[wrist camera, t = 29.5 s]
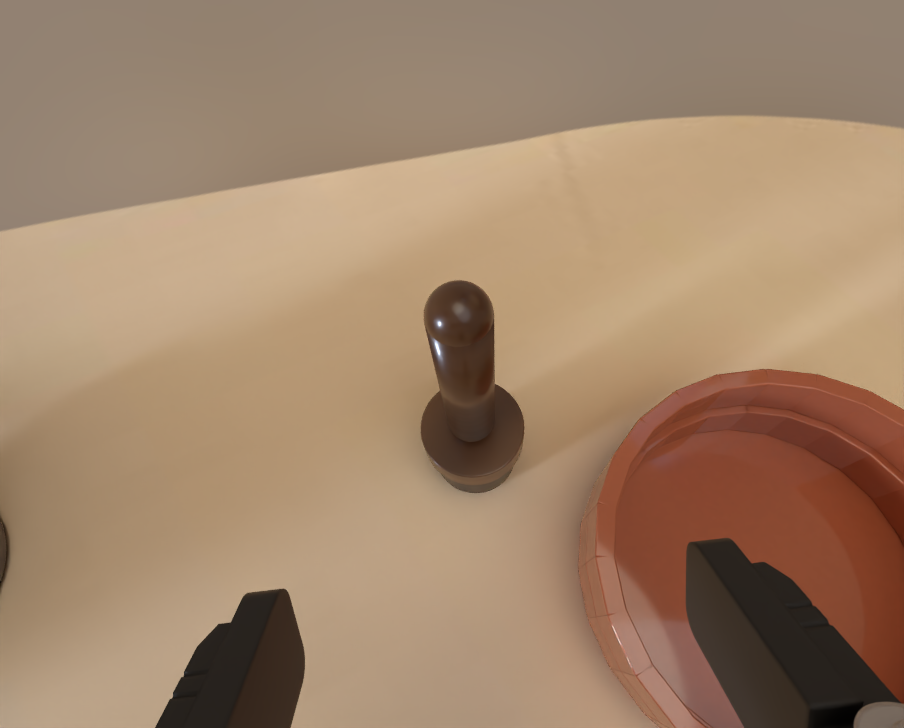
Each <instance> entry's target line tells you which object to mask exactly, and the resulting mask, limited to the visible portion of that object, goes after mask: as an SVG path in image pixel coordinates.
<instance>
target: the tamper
mask: <svg viewBox="0 0 904 728" xmlns="http://www.w3.org/2000/svg"><path fill="white" fill-rule="evenodd" d="M424 324H425V328H426V332H427V336H428V341H429V345H430V349H431V353H432V358H433V362H434V366H435V370H436V375H437V379H438V383H439V387H440V391H439V392H438V393H437V394H436V395H435V396H434V397H433V398H432V399H431V400H430V402H429V403H428V405H427V407H426V409H425V411H424V413H423V417H422V421H421V437H422V441H423V445H424V447H425V450H426V452H427V455H428V457H429V459H430V461H431V463H432V464H433V466H434V467H435V468H436V469H437V470H438V471H439V472H440V473H441V474H442V476H443V477H444V478H445V479H446V481H447V482H449V483H450V484H451V485H452V486H454V487H455V488H457V489H459V490H462V491H465V492H469V493H481V492H486V491H489V490H492V489H494V488H496V487H497V486H499V485H500V484H501V483H503V482H504V481H505V480H506V478H507V477H508V476H509V474H510V473H511V471H512V468H513V466H514V464H515V463H516V461H517V459H518V457H519V455H520V452H521V449H522V444H523V437H524V420H523V415H522V412H521V410H520V408H519V406H518V404H517V402H516V401H515V400H514V398H513V397H512V396H511V395H510V394H509V393H508V392H507V391H506V390H504V389H503V388H501V387H500V386H498V385H496V384H495V370H494V311H493V306H492V303H491V301H490V299H489V297H488V295H487V294H486V293H485V292H484V291H483V290H482V289H481V288H480V287H479V286H477V285H475V284H473V283H471V282H467V281H462V280H456V281H450V282H447V283H444V284H442V285H441V286H439V287H438V288H437V289H435V290H434V291H433V292H432V294H431V295H430V296H429V298H428V300H427V302H426V305H425V308H424Z"/></svg>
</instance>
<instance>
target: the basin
mask: <svg viewBox="0 0 904 728" xmlns="http://www.w3.org/2000/svg"><path fill="white" fill-rule="evenodd" d="M720 538H730V539H732V540H733V541H734V542H735V543H736V544H737V546H738V547H739V548H740V549H741V551H742V552H743V553H744V554H745V556H746V557H747V558H748V559H749V561H750V562H751V563H758V562H766V563H768V564H769V565H771V566H772V567H774V568H775V569H777V570H779V571H780V572H782V573H783V574H785V575H786V576H788V577H789V578H791V579H792V580H793V581H794V582H795V583H796V584H797V585H798V586H799V588H800V589H801V590H802V591H803V592H804V593H805V594H806V596H807V597H808V598H809V599H810V600H811V601H812V605H813V606H816V607H817V608H818V609H819V610H820V611H821V613H822V614H823V615H824V616H825V617H826V618H827V619H828V622H829V624H830V625H833V626H834V627H835V629H836V630H837V631H838V632H839V633H840V634H841V635H842V636H843V638H844V639H845V640H846V641H847V642H848V643H849V644H850V646H851V647H852V648H853V649H854V650H855V651H856V652H857V654H858V655H859V656H860V657H861V658H862V659H863V660H864V662H865V663H866V664H867V665H868V666H869V667H870V668H871V669H872V671H873V672H874V673H875V674H876V675H877V676H878V677H879V679H880V680H881V681H882V682H883V683H884V684H885V685H886V687H887V688H888V689H889V690H890V691H891V692H892V693H893V695H894V696H895V697H896V698H897V699H898V700H899V701H900V702H901V703H902V704H904V410H903V409H902V408H900V407H898V406H896V405H894V404H892V403H891V402H889V401H887V400H885V399H883V398H881V397H880V396H878V395H876V394H874V393H872V392H870V391H868V390H865V389H862V388H859V387H856V386H853V385H850V384H846V383H843V382H840V381H837V380H834V379H831V378H828V377H825V376H822V375H818V374H809V373H800V372H791V371H781V370H772V369H760V370H752V371H743V372H735V373H727V374H719V375H714V376H712V377H709V378H707V379H704V380H702V381H699V382H697V383H694V384H692V385H689V386H686V387H684V388H681V389H679V390H676V391H675V392H673V393H672V394H671V395H669V396H668V397H667V398H665V399H664V400H663V401H662V402H660V403H659V404H658V405H656V406H655V407H654V408H652V409H651V410H650V411H649V412H647V413H646V414H645V415H643V416H642V417H641V418H640V419H639V420H638V421H637V423H636V424H635V425H634V427H633V428H632V430H631V431H630V432H629V434H628V435H627V437H626V438H625V440H624V441H623V442H622V444H621V445H620V447H619V448H618V449H617V451H616V452H615V454H614V455H613V457H612V458H611V460H610V461H609V463H608V464H607V466H606V467H605V469H604V470H603V472H602V473H601V475H600V476H599V478H598V479H597V481H596V482H595V484H594V486H593V489H592V492H591V495H590V498H589V501H588V504H587V507H586V510H585V512H584V515H583V518H582V521H581V527H580V544H579V560H578V572H579V577H580V582H581V587H582V593H583V598H584V603H585V608H586V613H587V617H588V621H589V623H590V625H591V627H592V629H593V632H594V634H595V636H596V638H597V641H598V643H599V645H600V647H601V650H602V652H603V654H604V656H605V659H606V661H607V663H608V665H609V667H611V670H612V672H613V673H614V674H615V676H616V677H617V678H618V680H619V681H620V682H621V684H622V685H623V686H624V688H625V689H626V690H627V692H628V693H629V694H630V696H631V697H632V698H633V700H634V701H635V702H636V704H637V705H638V706H639V708H640V709H641V710H642V712H643V713H645V715H646V716H647V717H648V718H649V719H651V720H652V721H653V722H654V723H655V724H656V725H658V726H659V727H660V728H744V726H743V724H742V723H741V721H740V719H739V717H738V715H737V714H736V712H735V710H734V708H733V706H732V705H731V703H730V701H729V699H728V697H727V696H726V694H725V692H724V690H723V688H722V687H721V685H720V683H719V681H718V679H717V678H716V676H715V674H714V672H713V670H712V669H711V667H710V665H709V663H708V661H707V660H706V658H705V656H704V654H703V652H702V650H701V649H700V647H699V645H698V643H697V641H696V640H695V638H694V635H693V633H692V630H691V628H690V625H689V621H688V617H687V612H686V551H687V545H688V543H689V542H695V541H703V540H711V539H720Z"/></svg>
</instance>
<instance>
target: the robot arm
mask: <svg viewBox="0 0 904 728" xmlns="http://www.w3.org/2000/svg"><path fill="white" fill-rule="evenodd" d="M5 561H6V537H5V533H4V529H3V526H2V523H1V521H0V582H1V579H2V575H3V572H4V567H5ZM686 612H687V617H688V621H689V625H690V628H691V630H692V633H693V635H694V638H695V640H696V641H697V643H698V645H699V647H700V649H701V650H702V652H703V654H704V656H705V658H706V660H707V661H708V663H709V665H710V667H711V669H712V670H713V672H714V674H715V676H716V678H717V679H718V681H719V683H720V685H721V687H722V688H723V690H724V692H725V694H726V696H727V697H728V699H729V701H730V703H731V705H732V706H733V708H734V710H735V712H736V714H737V715H738V717H739V719H740V721H741V723H742V724H743V726H744V728H904V704H902V703H901V702H900V701H899V700H898V699H897V698H896V697H895V696H894V695H893V693H892V692H891V691H890V690H889V689H888V688H887V687H886V685H885V684H884V683H883V682H882V681H881V680H880V679H879V677H878V676H877V675H876V674H875V673H874V672H873V671H872V669H871V668H870V667H869V666H868V665H867V664H866V663H865V662H864V660H863V659H862V658H861V657H860V656H859V655H858V654H857V652H856V651H855V650H854V649H853V648H852V647H851V646H850V644H849V643H848V642H847V641H846V640H845V639H844V638H843V636H842V635H841V634H840V633H839V632H838V631H837V630H836V629H835V627H834V626H833V625H830V624H829V622H828V619H827V618H826V617H825V616H824V615H823V614H822V613H821V611H820V610H819V609H818V608H817V607H816V606H813V605H812V601H811V600H810V599H809V598H808V597H807V596H806V594H805V593H804V592H803V591H802V590H801V589H800V588H799V586H798V585H797V584H796V583H795V582H794V581H793V580H792V579H791V578H789V577H788V576H786V575H785V574H783V573H782V572H780V571H779V570H777V569H775V568H774V567H772V566H771V565H769V564H768V563H766V562H758V563H751V562H750V561H749V559H748V558H747V557H746V556H745V554H744V553H743V552H742V551H741V549H740V548H739V547H738V546H737V544H736V543H735V542H734V541H733V540H732V539H730V538H720V539H711V540H703V541H695V542H689V543H688V545H687V551H686ZM304 670H305V655H304V647H303V643H302V640H301V636H300V632H299V629H298V625H297V621H296V618H295V614H294V611H293V607H292V603H291V600H290V596H289V594H288V592H287V590H285V589H277V590H268V591H260V592H251V593H247V594H245V595H244V597H243V598H242V600H241V602H240V604H239V606H238V608H237V611H236V613H235V615H234V617H233V619H232V621H231V623H224V624H218V625H217V626H216V627H215V629H214V630H213V631H212V632H211V633H210V634H209V635H208V636H207V637H206V638H205V639H204V640H203V641H202V642H201V643H200V644H199V645H198V646H197V648H196V650H195V652H194V654H193V656H192V658H191V660H190V662H189V663H188V665H187V667H186V669H185V671H184V677H181V679H180V681H179V683H178V685H177V687H176V689H175V690H174V692H173V698H172V699H170V700H169V702H168V704H167V706H166V708H165V710H164V712H163V714H162V716H161V717H160V719H159V721H158V723H157V725H156V727H155V728H290V727H291V724H292V720H293V716H294V713H295V709H296V705H297V702H298V698H299V694H300V691H301V687H302V683H303V678H304Z"/></svg>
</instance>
